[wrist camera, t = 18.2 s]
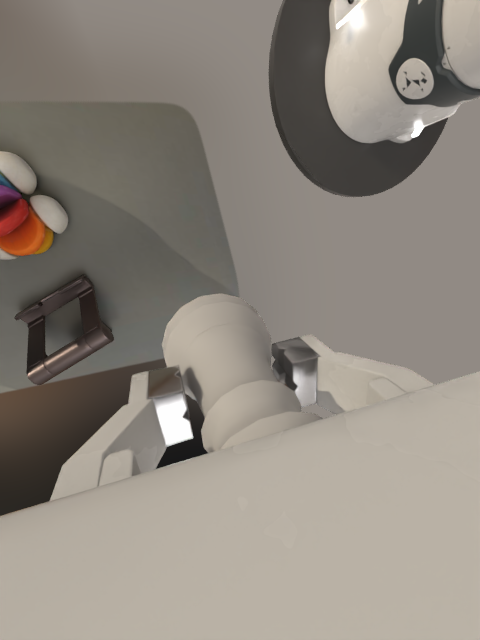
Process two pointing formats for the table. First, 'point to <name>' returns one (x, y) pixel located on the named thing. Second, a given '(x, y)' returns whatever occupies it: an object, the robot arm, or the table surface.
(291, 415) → the rook chess piece
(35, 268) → the table surface
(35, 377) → the tablet stand
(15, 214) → the multicoloured rounded lobed piece
